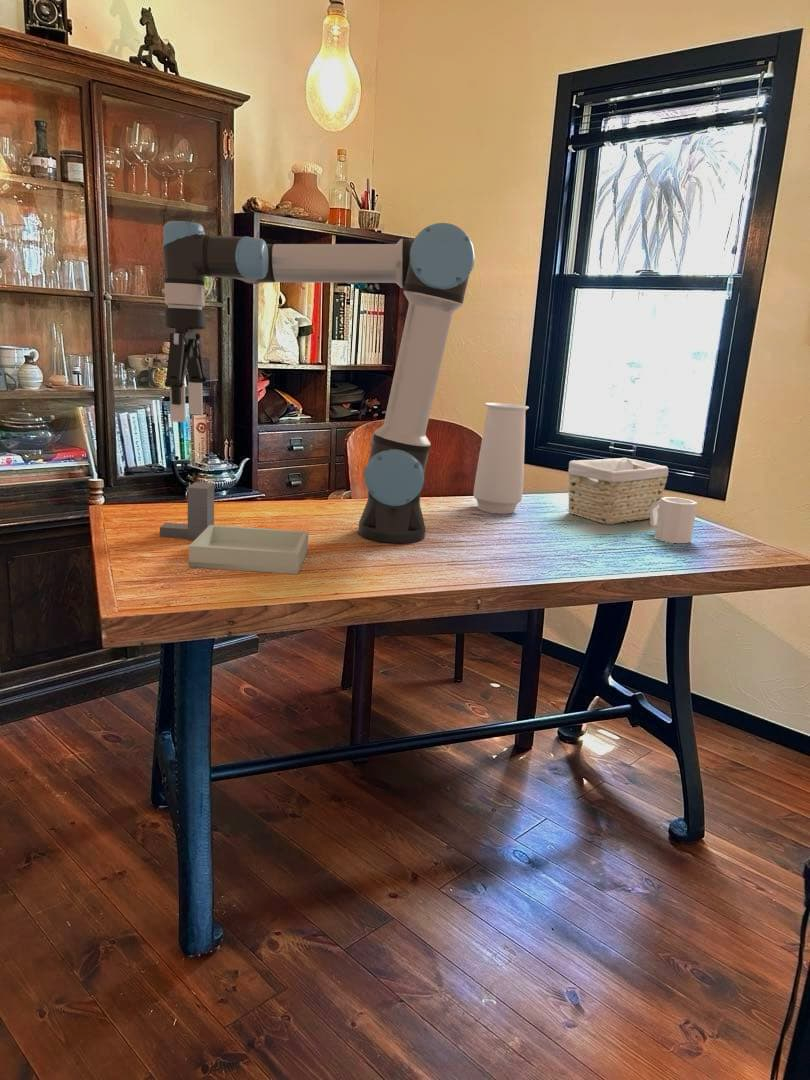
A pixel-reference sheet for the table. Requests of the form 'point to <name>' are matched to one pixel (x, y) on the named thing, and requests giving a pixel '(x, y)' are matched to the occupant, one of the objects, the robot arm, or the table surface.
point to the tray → (249, 549)
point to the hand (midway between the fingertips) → (187, 418)
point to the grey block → (194, 513)
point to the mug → (673, 519)
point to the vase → (501, 459)
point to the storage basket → (614, 489)
